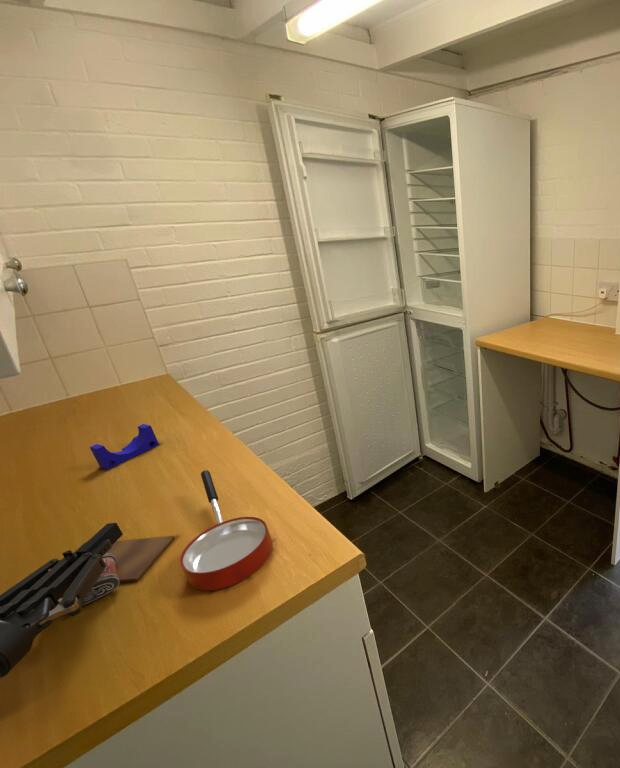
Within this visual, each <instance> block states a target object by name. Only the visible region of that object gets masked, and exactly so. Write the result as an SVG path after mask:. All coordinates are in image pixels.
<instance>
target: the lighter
mask: <svg viewBox="0 0 620 768" xmlns="http://www.w3.org/2000/svg"><path fill="white" fill-rule="evenodd" d="M102 559H103V560H104V562H105V564H106V568H105V570H104V571H103V573H102V574H101V575H100V577H99V578H98V580H97V581H96V583H95V584H94V586H93V587H92V589H91V590H90V592H89V593H88V595H87V596H86V598H85V599H84V601H83V602H82V606H85V605H87V604H89V603H92V602H94V601H96V600H98V599H99V598H102V597H104V596H106V595H107V594H109V593H111V592H113V591H114V590H116V589H117V588H118V587H119V586H120V583H119V577H118V576H117V573H116V567H115V562H116V558H115V556H114V555H113V554H111V553H107V554H105V555H103V556H102Z"/></svg>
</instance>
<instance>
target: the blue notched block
mask: <svg viewBox="0 0 620 768" xmlns="http://www.w3.org/2000/svg"><path fill="white" fill-rule="evenodd" d="M137 430H138V435H136V436H134V437H133V438H132V440H131V441H130V442H129V443H128V444H127V445H126V446H124V447H123V448H121V451H116V452H115V451H114V452H111V451H109V450H108V449H107V448H106V447H105V445H102V444H98V443H96V444H93V445H90V446H89V449H90V451H91V453H92V455H93V456H94V458H95V461H96V462H97V464H98V466H99V468H101V469H104V470H107V471H108V470H110V469H112V468H115V467H116V466H118V465H120V464H122V463H125V462H126V461H128V460H131V459H133V458H135V457H138V456H139V455H141V454H143V453H145V452H147V451H149V450H151V449H154V448H155V447H158V446H159V445H160V442H159V441H158V439H157V436H156V434H155V432H154V430H153V427H152V426H151V425H150V424H146V423H143V424H140V425H138V426H137Z"/></svg>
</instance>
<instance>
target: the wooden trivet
mask: <svg viewBox="0 0 620 768" xmlns="http://www.w3.org/2000/svg"><path fill="white" fill-rule="evenodd" d="M175 538H176V537H175V535H168V536H167V535H166V536H159V537H158V536H157V537H148V538H137V539H128V540H127V539H126V540H119V541H118V540H117V541H116V542H115V543H114V544H113V545H112V548H111V549H110V550H109V551H108V552H107V553H111V554H113V555H114V556H115V558H116V562H115V567H116V573H117V576H118V577H119V584H121V583H129V582H138V581H139V580H140V579H141V578H142V577H143V576H144V575H145V574H146V573H147V571H148V570H149V569H150V567H152V566H153V564H154V563H155V562H156V561H157V559H159V558H160V557H161V555H162V554H163V553H164V552H165V550H166V549H167V548H168V547H169V546H170V545H171V544H172V542H173V541H174V540H175ZM107 553H106V554H107Z"/></svg>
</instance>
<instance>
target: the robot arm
mask: <svg viewBox="0 0 620 768" xmlns="http://www.w3.org/2000/svg"><path fill="white" fill-rule="evenodd" d="M122 536H124V533H123V532H122V530H121V528H120V526H119V525H118V523H117V522H109V523H106V524H105V525H104V526H103V527H101V529H99V530H98V531H97V532H96V533H95V534H94V535H93V536H91V538H89V539H88V540H87V541H86V542H84V543H83V544H81V545H80V547H78V548H76V550H74V552H73V551H72V550H71V549H70V550H66V551H64V552H62V553H61V554H62V556H63V558H62V559H59V558H51V559H50V560H48V561H47V562H46V563H44V564H43V565H42V566H40V567H39V568H37V569H36V570H34V571H33V572H31V573H30V574H29V575H27V576H26V577H24V578H23V579H22V580H20V581H19V582H17V583H16V584H14V585H13V586H11V587H10V588H8V589H7V590H5V591H3V592H2V593H1V594H0V679H2V678H4V677H6V676H7V675H8V674H9V673H10V672H11V671H12V670H13V669H14V668H15V667H16V666H17V665H18V664H19V663H20V662H21V661H22V660H23V658H24V657H25V656H27V655H28V653H29V652H30V651H31V650H32V647H33V643H34V641H35V638H36V637H37V636H38V634H40V633H41V632H42V631H44V630H46V629H47V628H48V627H50V626H51V625H52V624H53V622H54V620H56V619H58V618H60V617H62V616H66V615H67V614H68V616H69V617H75V616H77V615H79V614H80V613H81V611H82V607H83V605H82V602H83V601H84V599H85V598H86V596H87V595H88V593H89V592H90V590H91V589H92V587H93V586H94V584H95V583H96V581H97V580H98V578H99V577H100V575H101V574H102V573H103V571H104V570H105V568H106V564H105V562H104V560H103V559H102V556H103V555H105V554H106V553H107V552H108V551H109V550H110V549H111V548H112V545H113V544H114V543H115V542H116V541H118V540H119V539H120V538H121V537H122Z"/></svg>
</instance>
